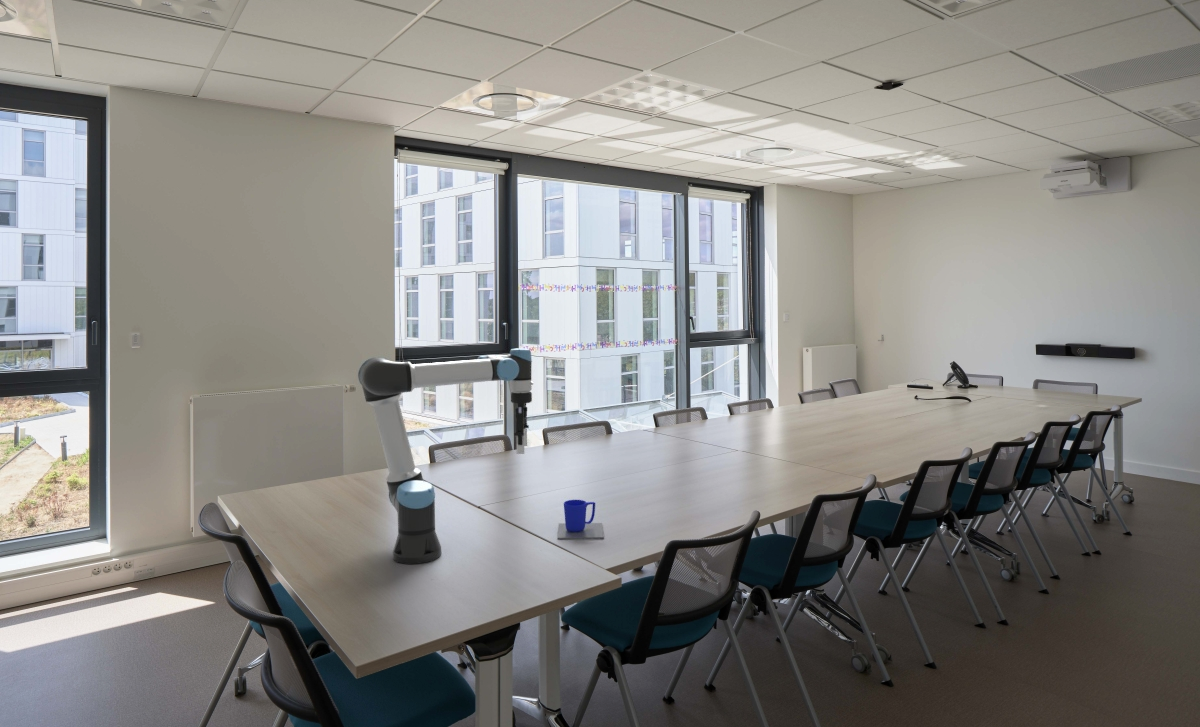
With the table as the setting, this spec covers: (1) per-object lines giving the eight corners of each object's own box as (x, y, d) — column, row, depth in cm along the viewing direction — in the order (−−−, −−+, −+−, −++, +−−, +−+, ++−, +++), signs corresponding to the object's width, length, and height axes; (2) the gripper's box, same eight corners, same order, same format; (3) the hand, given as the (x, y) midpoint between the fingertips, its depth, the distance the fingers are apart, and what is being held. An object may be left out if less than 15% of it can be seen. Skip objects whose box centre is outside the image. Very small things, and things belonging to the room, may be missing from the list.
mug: (600, 529, 251) (600, 502, 250) (570, 535, 245) (570, 507, 244) (589, 523, 258) (589, 496, 257) (560, 528, 252) (559, 501, 251)
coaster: (557, 539, 242) (557, 537, 242) (558, 525, 258) (558, 523, 258) (603, 538, 243) (603, 537, 243) (601, 524, 259) (601, 522, 259)
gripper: (529, 395, 239) (530, 457, 241) (533, 387, 264) (534, 442, 266) (507, 396, 239) (508, 457, 241) (513, 387, 264) (514, 443, 266)
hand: (521, 449), depth 253 cm, fingers open, 13 cm apart
